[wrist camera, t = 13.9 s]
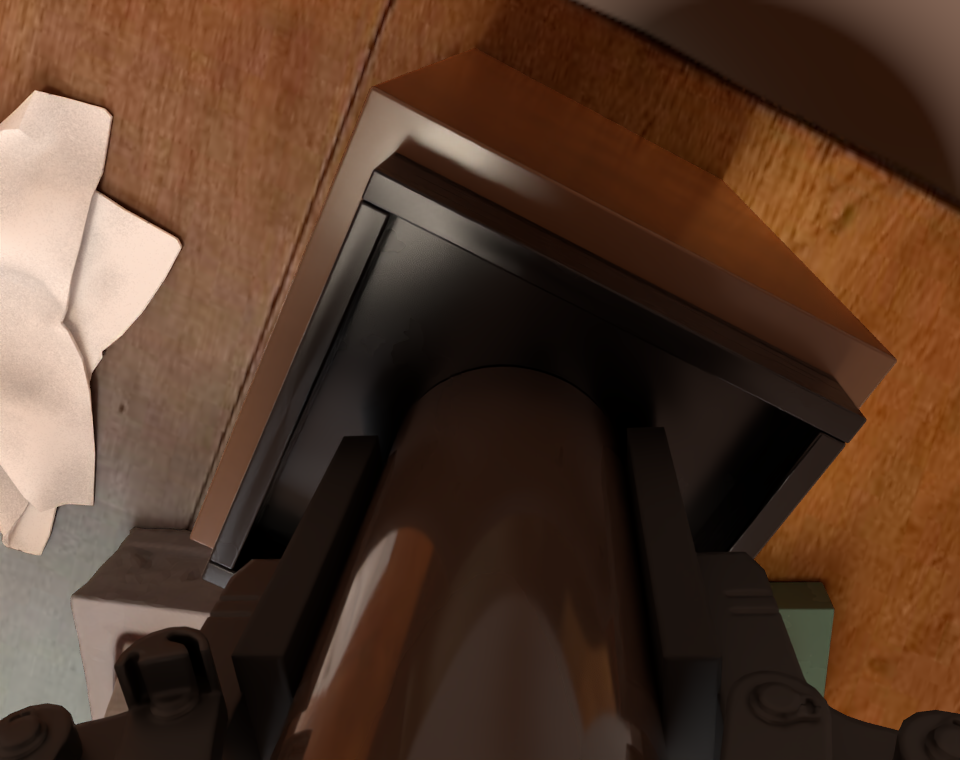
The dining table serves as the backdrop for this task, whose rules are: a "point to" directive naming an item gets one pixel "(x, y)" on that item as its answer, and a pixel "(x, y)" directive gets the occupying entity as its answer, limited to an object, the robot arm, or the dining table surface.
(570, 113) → the brown pedestal
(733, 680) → the robot arm
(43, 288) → the cloth
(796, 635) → the base
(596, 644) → the metal bottle
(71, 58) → the dining table surface
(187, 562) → the bible
